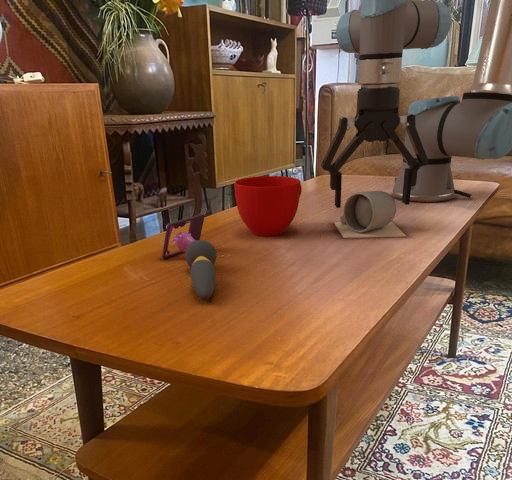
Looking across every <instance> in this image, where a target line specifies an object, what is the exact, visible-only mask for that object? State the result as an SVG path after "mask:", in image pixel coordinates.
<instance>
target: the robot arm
mask: <svg viewBox="0 0 512 480" xmlns="http://www.w3.org/2000/svg"><path fill="white" fill-rule="evenodd" d="M338 19H339V20H338V22H337V24H336V28H335V29H336V30H335V38H336V41H337V45H338V46H339V48H340V50H341V51H343V52H344V53H347V54H359V57H358V72H357V85H358V86H360V88H358V90H357V97H356V113H355V117H354V118H352V117H345V116H340V117H339V119H338V126H337V130H336V133H335V134H334V136H333V138H332V141H331V143H330V145H329V147H328V149H327V151H326V153H325V155H324V157H323V159H322V161H321V164H320V167H321V168H322V170H324V171H327V172H328V173H329V187H330V189H331V191H334V207H336V209H341V208H342V207H341V206H342V183H343V182H342V178H343V174H342V172H341V171H340V170H341V168H342V167H343V166H344V165H345V164H346V163H347V161H348V160H349V158H351V156H352V155H353V154H354V152H355V151H356V150H357V149H358V148H359V146H361V145H362V144H363V142H365V141H366V142H368V143H374V142H385V141H387V140H388V141H389V142H390V143H391V144H392V146H393V147H394V148H395V150H396V151H397V152H398V154H399V155H400V156H401V157H402V165H401V167H400V170H399V173H398V175H397V177H394V184H393V188H392V192H391V193H392V195H391V196H392V197H393V198H395V199H398V200H401V203H403V204H404V205H406V206H409V205H410V203H411V202H419V203H436V202H445V201H449V200H453V199H454V198H455V195H459V196H462V197H465V198H468V199H471V197H472V194H471V193H469V192H466V191H465V192H464V191H462V190H459V189H456V188H455V183H454V179H453V172H452V158H453V157H458V158H468V159H477V160H482V161H483V160H499V159H501V158H503V157H505V156H506V155H508V154H509V153H510V151H512V0H490V3H489V6H488V12H487V16H486V19H485V24H484V30H483V35H482V39H481V44H480V48H479V52H478V58H477V62H476V66H475V71H474V75H473V79H472V83H471V84H470V86H469V87H468V88H467V89H465V90H464V91H463V93H462V97H461V99H460V97H459V95H450V96H449V95H448V96H440V97H433V98H425V99H419V100H415V101H413V102H411V103H410V105H409V106H408V110H407V113H406V114H405V115H400V114H399V108H400V107H399V106H400V96H401V95H400V93H401V89H400V87H398V84H400V83H401V81H402V63H403V53H404V50H412V49H420V50H428V49H431V48H436V47H438V46H439V45H441V44H442V43H443V42H444V41H445V39H446V38H447V37H448V35H449V33H450V30H451V25H452V15H451V11H450V9H449V7H448V6H447V5H446V4H445V3H443V2H441V1H437V0H361V7H360V8H358V9H351V11H347V12H344V14H342V15H341V16H340V18H338ZM400 124H401V125H402V127H403V128H405V133H404V143H403V141H402V140H401V138H400V136H399V135H398V134H397V133H396V131H395V130H396V129H397V128H398V126H399V125H400ZM352 126H354V127H355V129H356V130H357V132H356V133H355V134H354V136H353V137H352V139H351V140H350V142H348V144H347V146H346V147H345V148H344V149H343V151H341V153H340V154H339V156H338V157H337V158H336V159H335V156H336V155H337V152H338V150H339V148H340V146H341V144H342V142H343V140H344V138H345V136H346V134H347V131H349V130H350V129H351V127H352ZM334 159H335V161H334ZM332 162H333V163H332Z"/></svg>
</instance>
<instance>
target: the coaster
mask: <svg viewBox="0 0 512 480" xmlns="http://www.w3.org/2000/svg"><path fill="white" fill-rule="evenodd" d="M333 224H334V225H335V227H336V229H337V230H338V232H339V234H340V236H342V238H343V239H372V238H373V239H375V238H378V239H379V238H406V237H407V235H406V234H405V233H404V231H402V230H401V229H400V228H399V227H398V226H396V224H395V223H393V221H391V222H390V223H389V224H388V225H386V226H384V227H381V228H377V229H374V230H370V231H366V232H362V233H358V232H355V231H353V230H351V229H350V228H349V227H348V225H347V224H342V223H341V221H334V222H333Z"/></svg>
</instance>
